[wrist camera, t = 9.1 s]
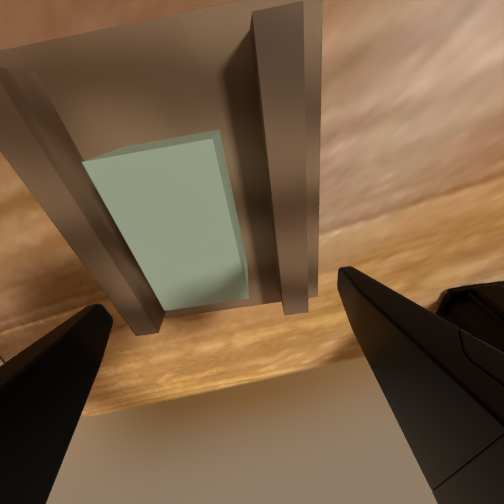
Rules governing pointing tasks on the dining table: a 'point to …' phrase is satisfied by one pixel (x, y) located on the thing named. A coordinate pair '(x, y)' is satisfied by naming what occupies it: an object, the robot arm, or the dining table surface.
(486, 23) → the dining table surface
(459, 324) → the robot arm
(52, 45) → the brown wooden stand
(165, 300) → the pale green block
